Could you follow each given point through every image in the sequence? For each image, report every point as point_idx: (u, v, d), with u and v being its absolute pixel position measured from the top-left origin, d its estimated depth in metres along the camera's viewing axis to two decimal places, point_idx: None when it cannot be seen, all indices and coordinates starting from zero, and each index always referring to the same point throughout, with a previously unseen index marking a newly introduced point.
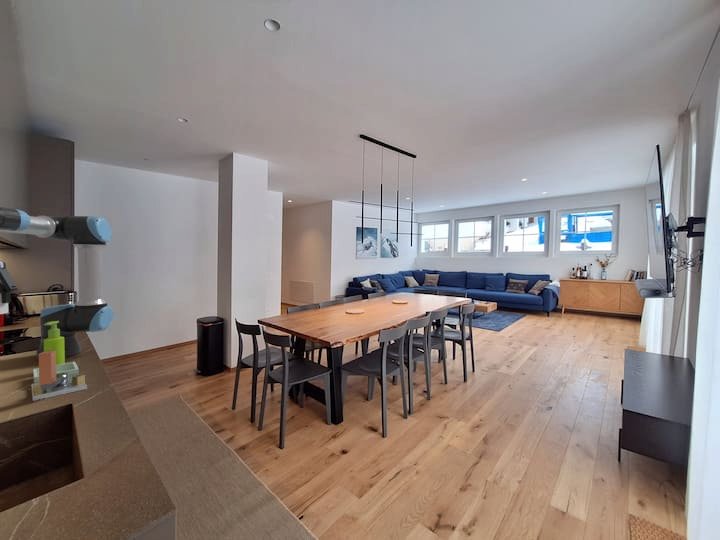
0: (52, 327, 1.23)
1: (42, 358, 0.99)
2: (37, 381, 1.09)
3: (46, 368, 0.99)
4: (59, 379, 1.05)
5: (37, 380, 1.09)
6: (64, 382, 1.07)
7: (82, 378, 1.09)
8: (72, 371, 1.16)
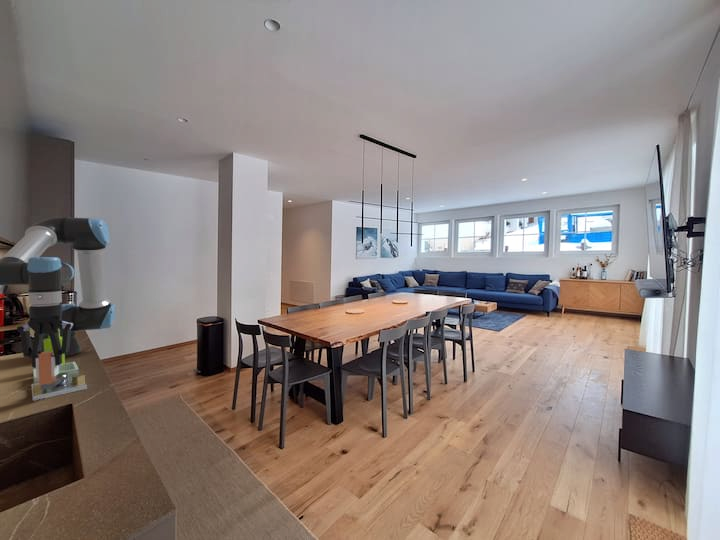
0: None
1: (42, 358, 0.99)
2: (37, 381, 1.09)
3: (46, 368, 0.99)
4: (59, 379, 1.05)
5: (37, 380, 1.09)
6: (64, 382, 1.07)
7: (82, 378, 1.09)
8: (72, 371, 1.16)
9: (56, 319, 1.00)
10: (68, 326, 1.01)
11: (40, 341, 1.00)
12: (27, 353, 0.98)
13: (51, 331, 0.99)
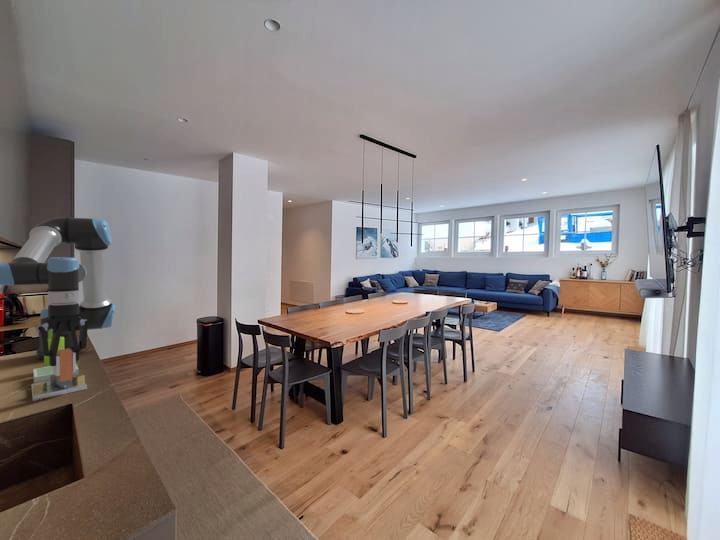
0: None
1: (63, 356, 1.02)
2: (37, 381, 1.09)
3: (67, 365, 1.03)
4: None
5: (37, 380, 1.09)
6: None
7: (82, 378, 1.09)
8: None
9: (77, 316, 1.05)
10: (88, 322, 1.08)
11: None
12: (48, 352, 0.99)
13: (74, 328, 1.04)
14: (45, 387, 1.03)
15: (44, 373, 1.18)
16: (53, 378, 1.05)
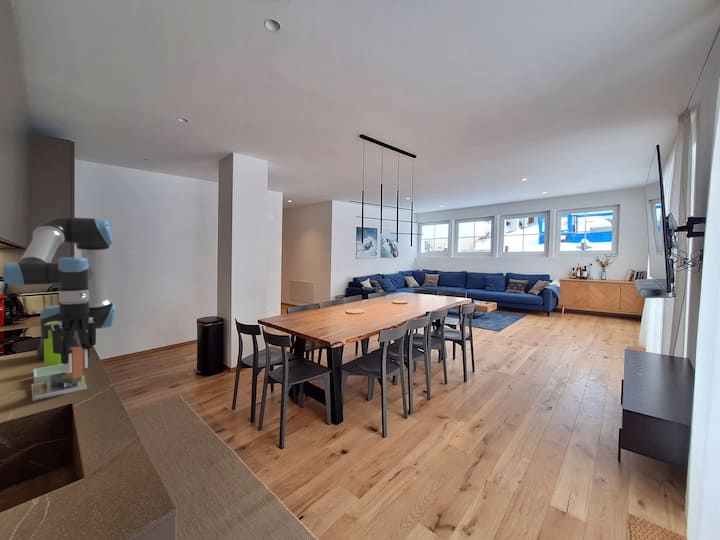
0: None
1: (76, 353, 1.05)
2: (37, 381, 1.09)
3: (78, 362, 1.06)
4: None
5: (37, 380, 1.09)
6: None
7: (82, 378, 1.09)
8: None
9: (86, 315, 1.08)
10: (96, 320, 1.11)
11: None
12: (62, 350, 1.01)
13: (85, 326, 1.07)
14: (45, 387, 1.03)
15: (44, 373, 1.18)
16: (56, 378, 1.05)
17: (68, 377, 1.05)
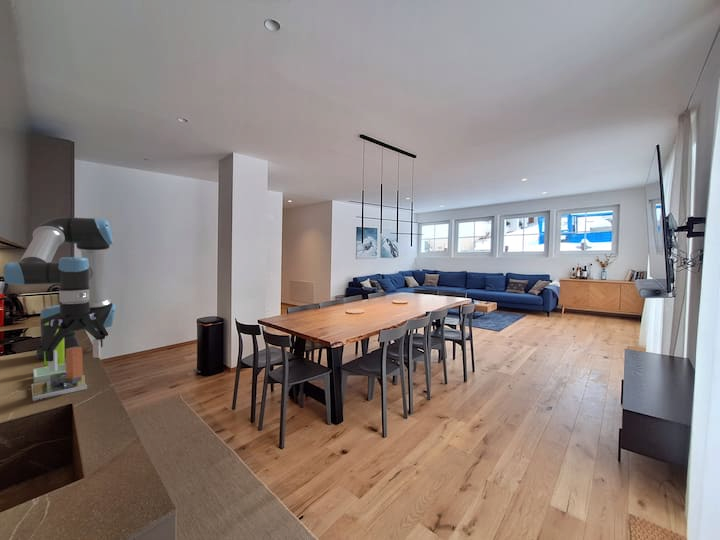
0: None
1: (76, 353, 1.05)
2: (37, 381, 1.09)
3: (78, 362, 1.06)
4: None
5: (37, 380, 1.09)
6: None
7: (82, 378, 1.09)
8: None
9: (85, 315, 1.08)
10: (97, 315, 1.12)
11: None
12: (47, 348, 0.97)
13: (88, 323, 1.08)
14: (45, 387, 1.03)
15: (44, 373, 1.18)
16: (56, 378, 1.05)
17: (68, 377, 1.05)
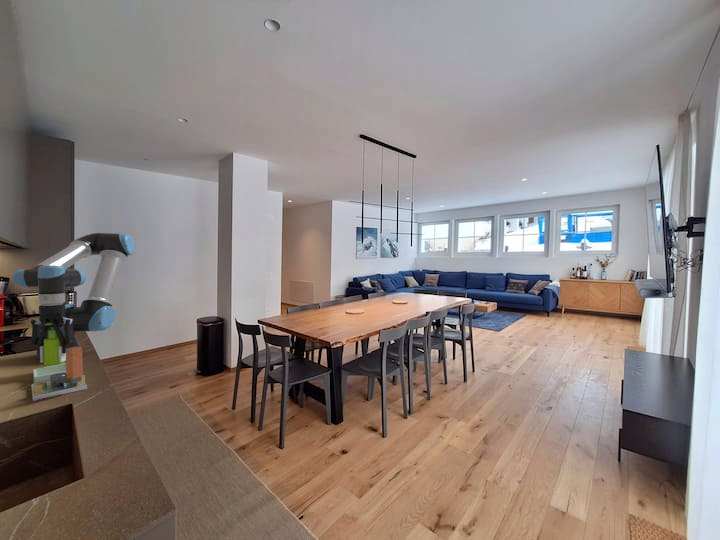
0: None
1: (76, 353, 1.05)
2: (37, 381, 1.09)
3: (78, 362, 1.06)
4: None
5: (37, 380, 1.09)
6: None
7: (82, 378, 1.09)
8: None
9: (58, 316, 1.22)
10: (67, 321, 1.23)
11: (46, 334, 1.23)
12: (34, 342, 1.21)
13: (55, 326, 1.22)
14: (45, 387, 1.03)
15: (44, 373, 1.18)
16: (56, 378, 1.05)
17: (68, 377, 1.05)
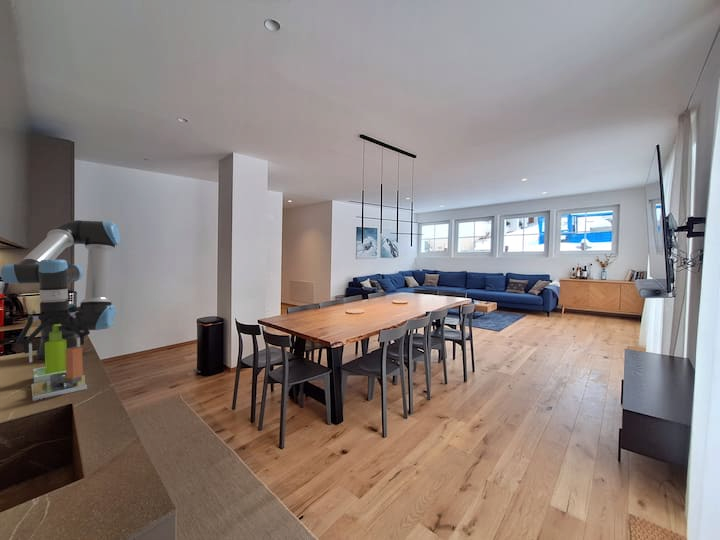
0: (56, 329, 1.16)
1: (76, 353, 1.05)
2: (37, 381, 1.09)
3: (78, 362, 1.06)
4: None
5: (37, 380, 1.09)
6: None
7: (82, 378, 1.09)
8: None
9: (64, 313, 1.17)
10: (78, 314, 1.20)
11: (38, 332, 1.13)
12: (21, 341, 1.09)
13: (65, 321, 1.17)
14: (45, 387, 1.03)
15: (44, 373, 1.18)
16: (56, 378, 1.05)
17: (68, 377, 1.05)
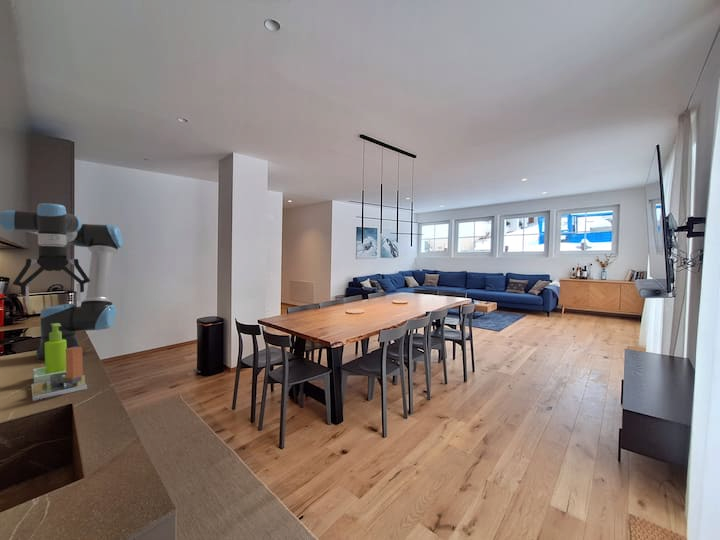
0: (55, 329, 1.16)
1: (76, 353, 1.05)
2: (37, 381, 1.09)
3: (78, 362, 1.06)
4: None
5: (37, 380, 1.09)
6: None
7: (82, 378, 1.09)
8: None
9: (62, 259, 1.16)
10: (76, 260, 1.19)
11: None
12: (17, 282, 1.08)
13: (64, 267, 1.16)
14: (45, 387, 1.03)
15: (44, 373, 1.18)
16: (56, 378, 1.05)
17: (68, 377, 1.05)
